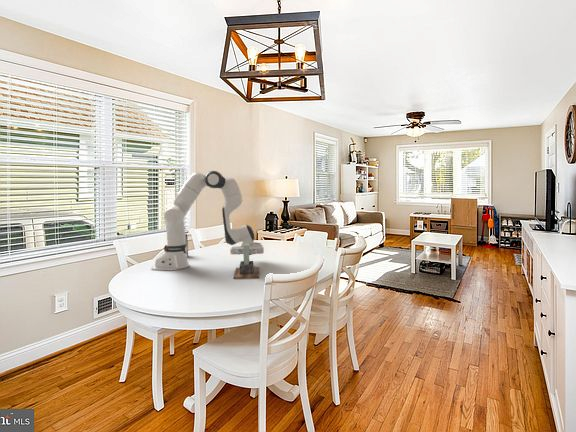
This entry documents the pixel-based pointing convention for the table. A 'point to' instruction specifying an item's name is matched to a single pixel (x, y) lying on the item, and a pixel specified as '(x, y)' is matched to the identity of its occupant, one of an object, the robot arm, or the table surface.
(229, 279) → the table surface
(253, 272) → the wooden base with socket
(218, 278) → the table surface
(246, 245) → the pale green block
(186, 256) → the robot arm
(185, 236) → the coffee box
